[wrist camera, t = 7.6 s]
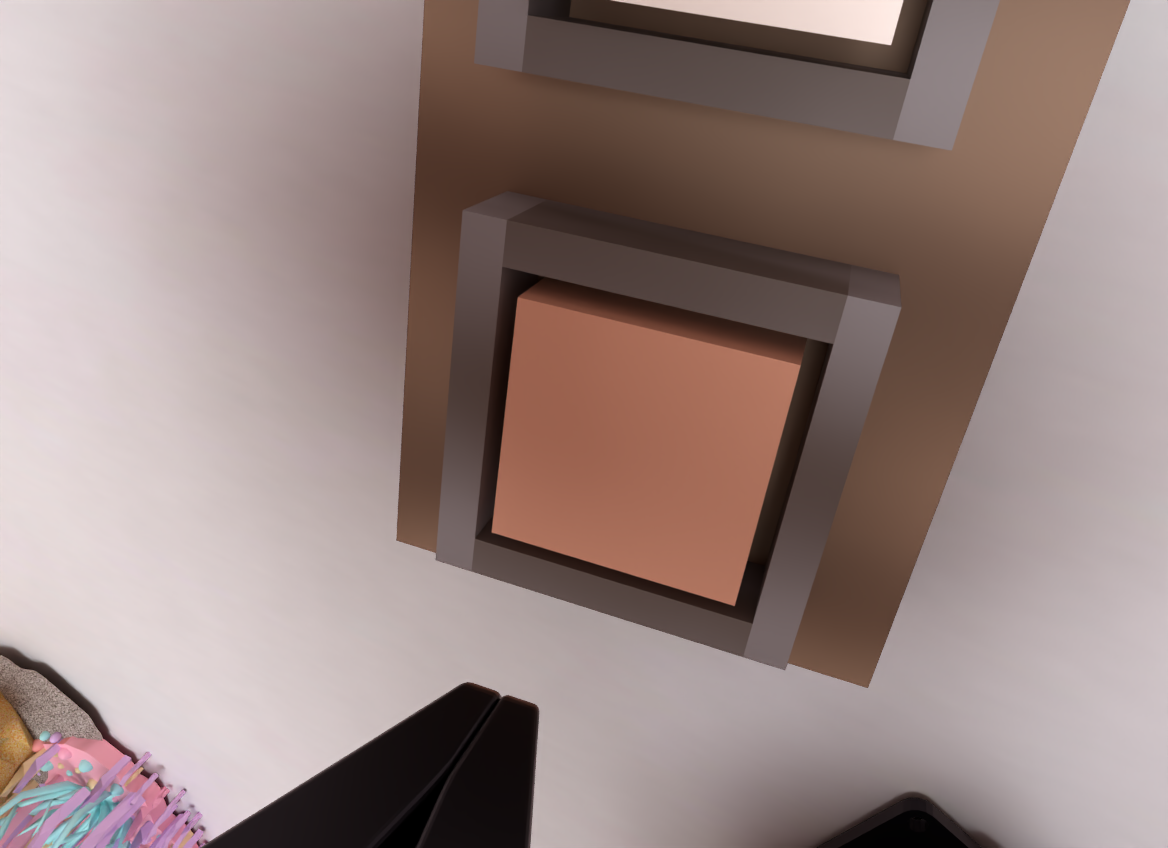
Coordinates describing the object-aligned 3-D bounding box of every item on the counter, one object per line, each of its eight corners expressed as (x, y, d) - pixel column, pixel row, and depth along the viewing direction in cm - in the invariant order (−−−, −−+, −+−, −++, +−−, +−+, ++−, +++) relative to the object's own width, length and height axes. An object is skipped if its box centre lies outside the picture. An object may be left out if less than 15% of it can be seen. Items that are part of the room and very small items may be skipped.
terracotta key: (749, 549, 18) (734, 605, 16) (527, 485, 19) (491, 532, 17) (809, 327, 15) (800, 364, 14) (555, 269, 16) (517, 297, 15)
